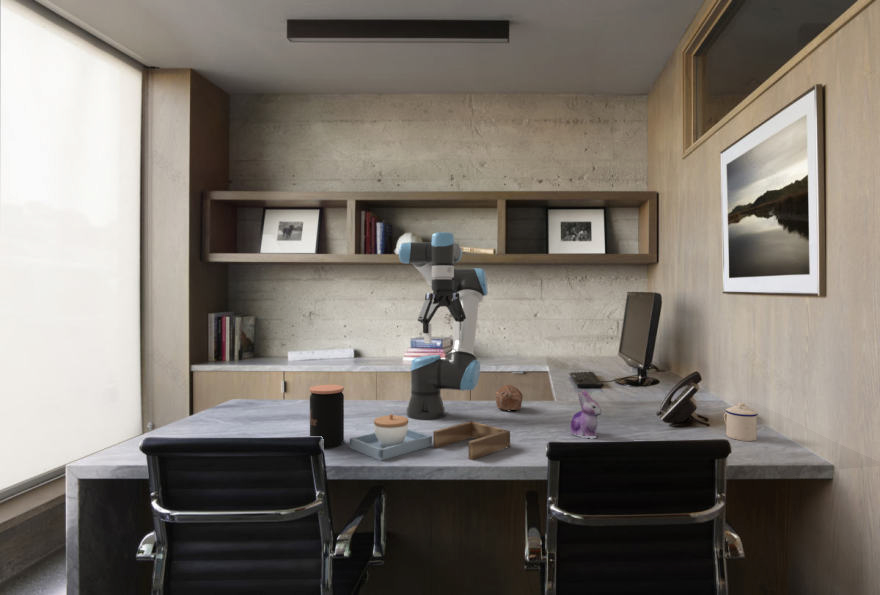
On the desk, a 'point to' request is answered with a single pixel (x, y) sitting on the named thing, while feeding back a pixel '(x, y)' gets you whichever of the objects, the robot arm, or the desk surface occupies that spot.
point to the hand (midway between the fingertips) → (442, 342)
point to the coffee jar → (327, 414)
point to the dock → (484, 434)
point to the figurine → (586, 416)
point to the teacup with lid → (741, 422)
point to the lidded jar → (391, 429)
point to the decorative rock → (509, 398)
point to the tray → (376, 450)
